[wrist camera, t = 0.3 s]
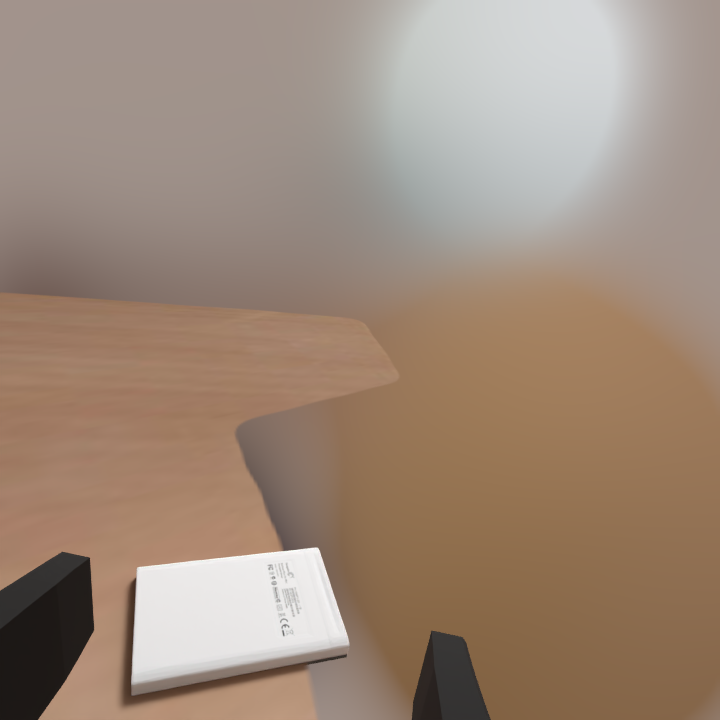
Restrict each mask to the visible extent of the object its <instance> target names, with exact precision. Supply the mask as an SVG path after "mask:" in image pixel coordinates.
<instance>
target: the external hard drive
mask: <svg viewBox="0 0 720 720" xmlns="http://www.w3.org/2000/svg"><path fill="white" fill-rule="evenodd" d="M348 650H349V640H348V636H347V633H346V630H345V627H344V624H343V621H342V618H341V615H340V612H339V609H338V606H337V603H336V600H335V597H334V594H333V591H332V588H331V585H330V582H329V579H328V576H327V572H326V569H325V567H324V563H323V560H322V558H321V554H320V551H319V549H318V548H309V549H301V550H292V551H282V552H273V553H263V554H254V555H245V556H236V557H226V558H217V559H208V560H198V561H189V562H181V563H172V564H163V565H155V566H146V567H138V568H137V575H136V596H135V617H134V637H133V657H132V677H131V696H134V695H139V694H144V693H149V692H155V691H160V690H165V689H170V688H175V687H180V686H185V685H190V684H196V683H201V682H206V681H211V680H216V679H221V678H227V677H232V676H237V675H242V674H247V673H253V672H258V671H263V670H268V669H273V668H278V667H284V666H289V665H294V664H299V663H304V662H307V665H309V664H314V663H320V662H324V661H329V660H336V659H340V658H346V657H347V653H348Z"/></svg>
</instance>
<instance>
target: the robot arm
mask: <svg viewBox="0 0 720 720" xmlns="http://www.w3.org/2000/svg"><path fill="white" fill-rule="evenodd" d="M93 631H94V620H93V603H92V586H91V569H90V558H89V557H84V556H79V555H75V554H70V553H65V552H61V553H60V554H58V555H57V556H55V557H53V558H52V559H50V560H48V561H47V562H45V563H44V564H42V565H40V566H39V567H37V568H36V569H34V570H32V571H31V572H29V573H28V574H26V575H24V576H23V577H21V578H20V579H18V580H17V581H15V582H13V583H12V584H10V585H9V586H7V587H5V588H4V589H2V590H1V591H0V720H38V719H39V717H40V716H41V715H42V713H43V712H44V710H45V709H46V707H47V706H48V705H49V703H50V702H51V700H52V699H53V698H54V696H55V695H56V693H57V692H58V691H59V689H60V688H61V686H62V685H63V683H64V682H65V680H66V679H67V677H68V675H69V674H70V672H71V670H72V669H73V667H74V665H75V663H76V662H77V660H78V658H79V656H80V655H81V653H82V651H83V649H84V647H85V646H86V644H87V642H88V640H89V638H90V637H91V635H92V633H93ZM412 720H491V719H490V717H489V714H488V711H487V709H486V705H485V703H484V700H483V697H482V694H481V691H480V688H479V685H478V682H477V679H476V676H475V672H474V669H473V666H472V662H471V659H470V655H469V652H468V648H467V644H466V642H465V640H464V639H463V638H462V637H459V636H455V635H450V634H445V633H441V632H436V631H431V635H430V639H429V643H428V646H427V651H426V654H425V658H424V662H423V666H422V670H421V674H420V678H419V681H418V686H417V689H416V693H415V697H414V701H413V713H412Z"/></svg>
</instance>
